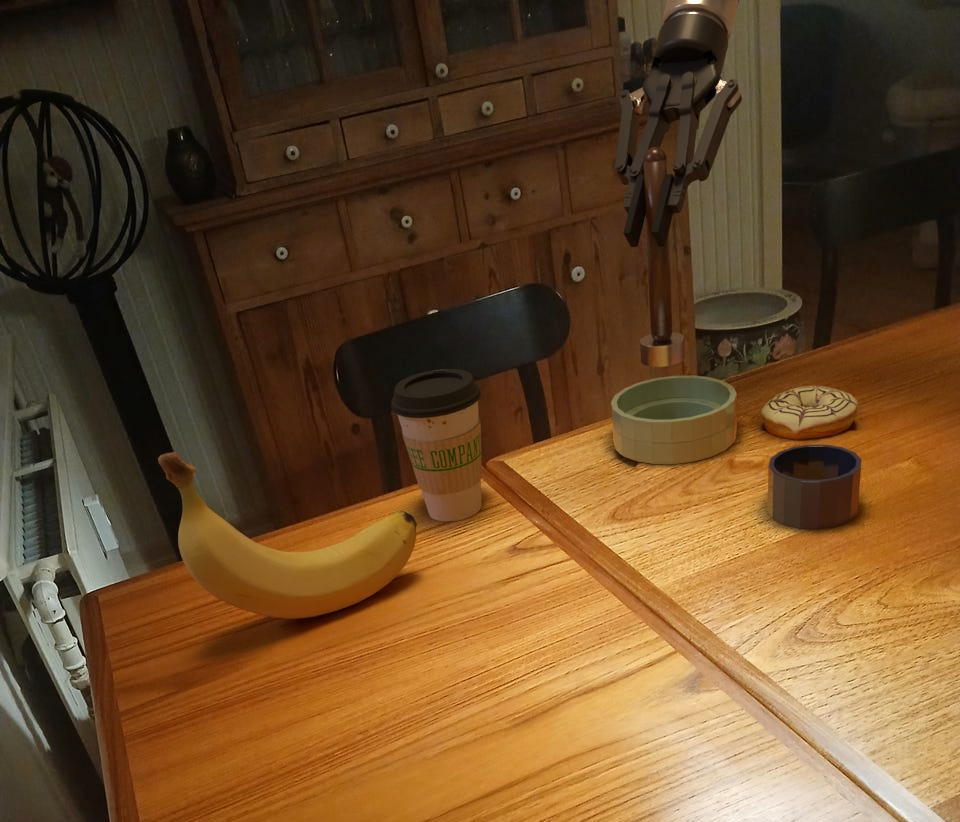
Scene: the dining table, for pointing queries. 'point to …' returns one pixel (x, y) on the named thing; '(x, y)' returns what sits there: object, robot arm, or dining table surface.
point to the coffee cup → (443, 439)
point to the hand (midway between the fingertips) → (644, 239)
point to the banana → (284, 559)
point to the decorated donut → (809, 412)
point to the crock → (814, 486)
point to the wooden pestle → (658, 275)
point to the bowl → (674, 419)
